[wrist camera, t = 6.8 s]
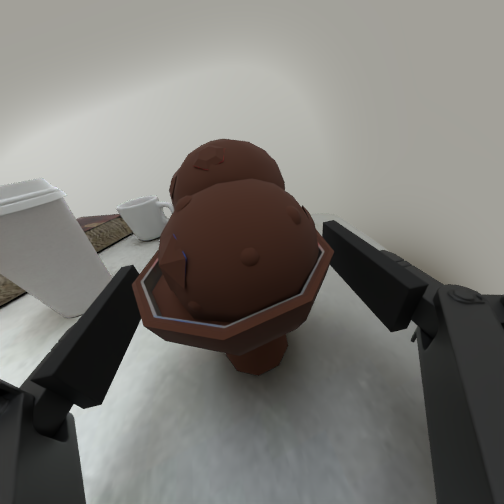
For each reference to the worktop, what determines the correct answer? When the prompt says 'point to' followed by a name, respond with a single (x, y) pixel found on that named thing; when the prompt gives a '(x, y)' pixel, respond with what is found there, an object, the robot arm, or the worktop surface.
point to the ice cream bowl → (233, 259)
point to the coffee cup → (48, 248)
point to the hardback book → (99, 234)
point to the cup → (145, 216)
